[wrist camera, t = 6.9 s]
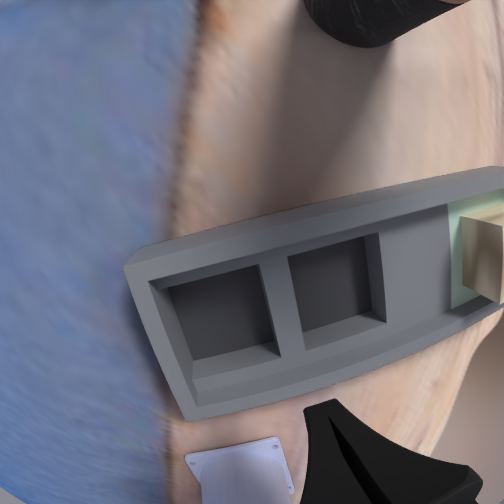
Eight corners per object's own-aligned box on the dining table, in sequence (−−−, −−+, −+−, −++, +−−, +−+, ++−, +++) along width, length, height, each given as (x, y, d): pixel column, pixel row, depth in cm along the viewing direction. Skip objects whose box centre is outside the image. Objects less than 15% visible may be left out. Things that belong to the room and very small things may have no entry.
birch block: (503, 265, 20) (539, 280, 16) (462, 285, 19) (499, 304, 15) (502, 202, 18) (541, 210, 14) (460, 215, 18) (502, 226, 14)
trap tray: (495, 279, 23) (526, 293, 19) (188, 384, 21) (186, 421, 17) (491, 166, 20) (526, 168, 16) (139, 248, 19) (122, 266, 15)
